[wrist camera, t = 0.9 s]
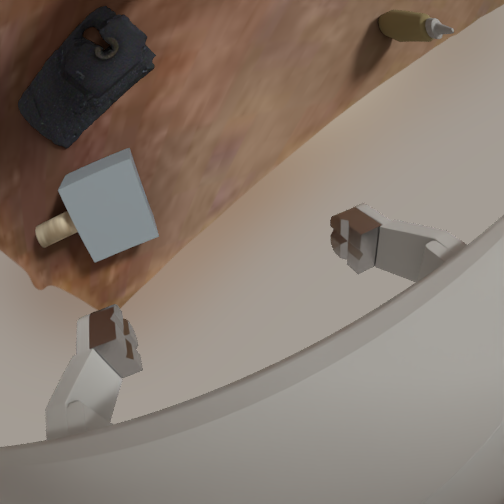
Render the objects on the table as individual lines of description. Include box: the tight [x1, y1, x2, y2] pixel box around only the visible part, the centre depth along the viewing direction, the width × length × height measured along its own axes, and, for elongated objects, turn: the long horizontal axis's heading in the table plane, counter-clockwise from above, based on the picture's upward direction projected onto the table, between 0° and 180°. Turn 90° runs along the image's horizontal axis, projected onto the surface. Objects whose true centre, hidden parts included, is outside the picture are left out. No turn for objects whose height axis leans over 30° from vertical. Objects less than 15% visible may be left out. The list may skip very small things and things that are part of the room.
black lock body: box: [18, 6, 156, 148], centre depth 32 cm, size 15×22×5 cm
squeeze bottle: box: [379, 10, 454, 42], centre depth 39 cm, size 8×8×18 cm
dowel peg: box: [36, 211, 78, 248], centre depth 42 cm, size 4×12×4 cm, turn 100°
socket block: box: [58, 148, 159, 262], centre depth 44 cm, size 14×12×7 cm
